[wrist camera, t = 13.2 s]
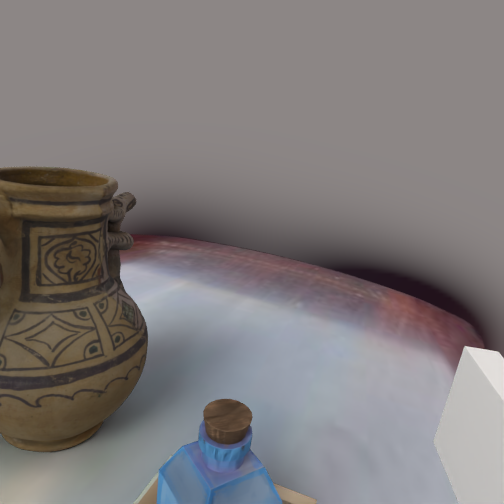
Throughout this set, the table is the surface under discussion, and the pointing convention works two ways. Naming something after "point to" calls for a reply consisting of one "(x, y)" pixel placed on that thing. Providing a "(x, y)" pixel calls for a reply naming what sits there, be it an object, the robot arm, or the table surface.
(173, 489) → the perfume bottle
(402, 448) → the table surface
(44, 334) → the decorative pitcher
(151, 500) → the oak box
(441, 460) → the robot arm
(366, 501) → the table surface
